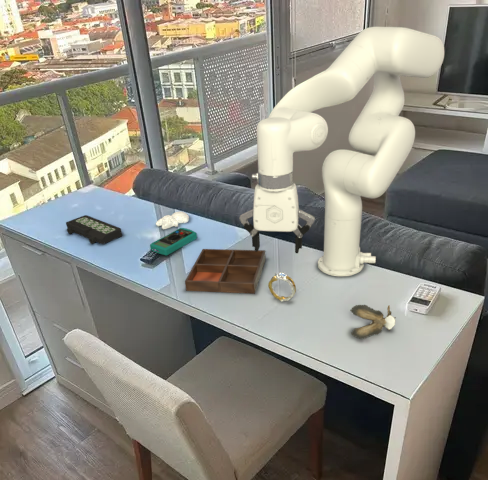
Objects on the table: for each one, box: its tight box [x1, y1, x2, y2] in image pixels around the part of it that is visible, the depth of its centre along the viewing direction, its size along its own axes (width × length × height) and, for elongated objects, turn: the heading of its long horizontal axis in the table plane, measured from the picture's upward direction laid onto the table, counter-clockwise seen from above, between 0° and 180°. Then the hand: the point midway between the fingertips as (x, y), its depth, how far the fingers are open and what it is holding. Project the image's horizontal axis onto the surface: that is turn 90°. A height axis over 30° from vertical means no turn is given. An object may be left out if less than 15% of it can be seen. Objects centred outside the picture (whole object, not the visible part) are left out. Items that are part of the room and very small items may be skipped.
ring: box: [267, 271, 297, 302], centre depth 122 cm, size 7×3×8 cm, turn 58°
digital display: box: [65, 214, 123, 245], centre depth 165 cm, size 21×3×10 cm
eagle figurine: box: [350, 304, 397, 340], centre depth 110 cm, size 8×7×9 cm
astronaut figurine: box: [155, 211, 190, 230], centre depth 168 cm, size 9×12×3 cm
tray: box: [184, 248, 267, 295], centre depth 136 cm, size 19×19×3 cm
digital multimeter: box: [149, 227, 198, 257], centre depth 154 cm, size 7×15×3 cm, turn 142°
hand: (277, 250), depth 116 cm, fingers open, 9 cm apart
